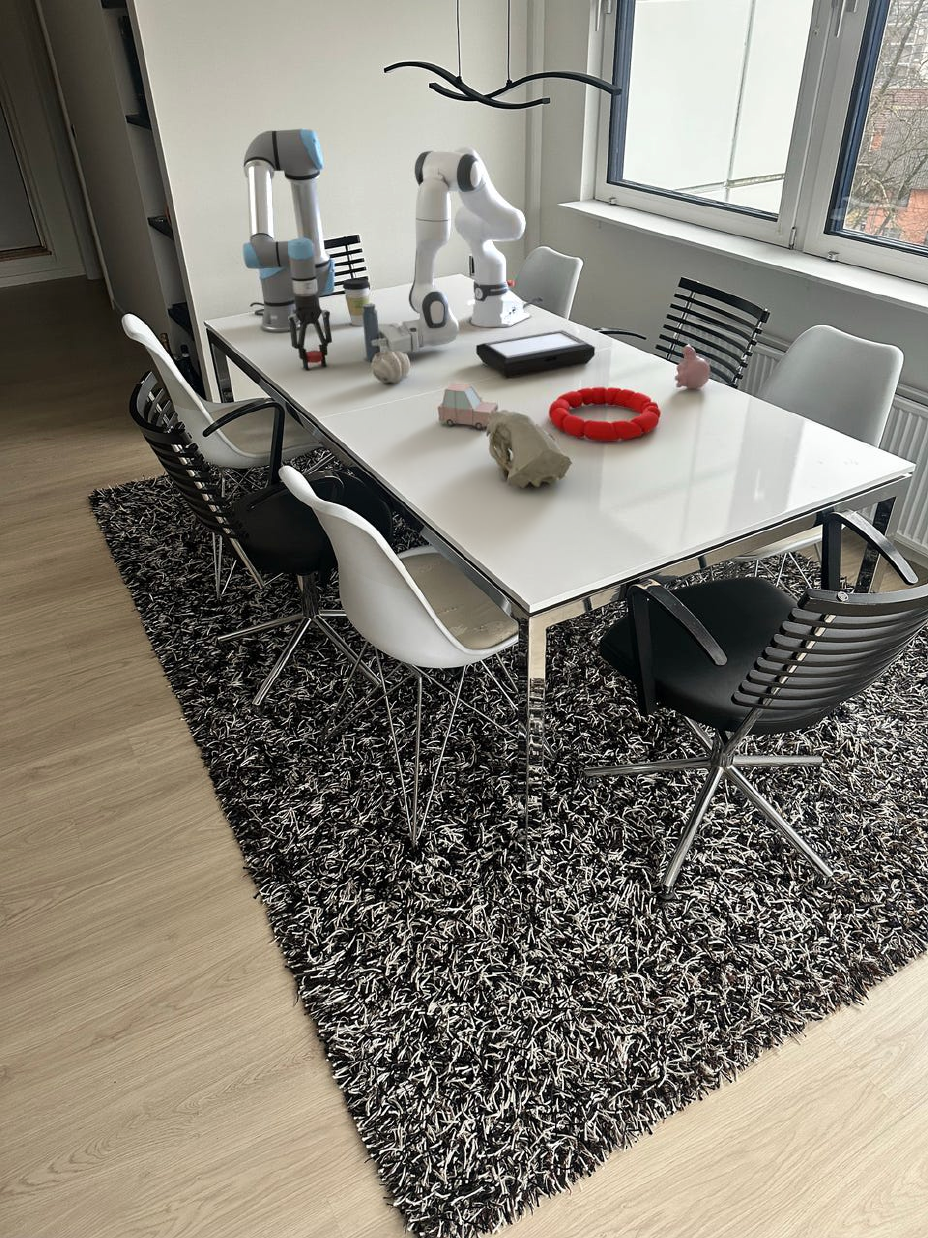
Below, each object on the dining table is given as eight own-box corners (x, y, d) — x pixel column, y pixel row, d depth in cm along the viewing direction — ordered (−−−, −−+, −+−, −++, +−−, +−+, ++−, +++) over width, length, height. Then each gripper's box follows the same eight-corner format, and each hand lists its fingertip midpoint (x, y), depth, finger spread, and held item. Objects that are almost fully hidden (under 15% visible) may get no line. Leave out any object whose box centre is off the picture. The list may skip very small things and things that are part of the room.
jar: (377, 361, 291) (372, 307, 281) (364, 360, 292) (359, 306, 283) (383, 357, 295) (378, 303, 285) (369, 355, 296) (365, 302, 286)
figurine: (665, 387, 264) (669, 347, 257) (693, 380, 268) (698, 340, 261) (686, 396, 257) (690, 355, 250) (714, 388, 262) (720, 348, 255)
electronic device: (503, 360, 269) (476, 342, 284) (503, 380, 272) (476, 362, 287) (595, 344, 279) (563, 327, 294) (594, 364, 283) (563, 346, 298)
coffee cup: (372, 326, 323) (368, 283, 314) (345, 327, 323) (340, 284, 315) (374, 318, 331) (371, 276, 322) (348, 319, 331) (344, 277, 323)
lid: (304, 358, 288) (303, 351, 287) (321, 356, 290) (320, 349, 288) (307, 363, 284) (306, 356, 283) (324, 361, 285) (323, 354, 284)
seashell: (364, 381, 275) (361, 349, 270) (407, 372, 281) (405, 341, 275) (377, 391, 268) (374, 358, 262) (421, 382, 273) (420, 349, 268)
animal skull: (496, 517, 219) (521, 479, 201) (463, 429, 225) (484, 384, 207) (557, 503, 225) (586, 465, 206) (523, 417, 231) (549, 373, 212)
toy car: (488, 432, 240) (488, 396, 234) (436, 426, 244) (434, 390, 239) (499, 419, 247) (499, 384, 241) (448, 413, 252) (447, 379, 246)
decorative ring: (589, 435, 224) (684, 402, 234) (527, 398, 247) (617, 369, 256) (589, 461, 229) (683, 427, 238) (529, 422, 251) (617, 393, 260)
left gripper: (281, 299, 269) (291, 375, 282) (338, 291, 276) (345, 365, 289) (273, 294, 275) (284, 369, 287) (329, 286, 282) (337, 359, 294)
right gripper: (401, 316, 300) (361, 321, 296) (418, 333, 284) (376, 338, 280) (402, 335, 303) (362, 340, 300) (419, 353, 287) (377, 358, 284)
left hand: (314, 367), depth 288 cm, fingers closed on lid, 5 cm apart
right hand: (369, 339), depth 290 cm, fingers closed on jar, 5 cm apart
